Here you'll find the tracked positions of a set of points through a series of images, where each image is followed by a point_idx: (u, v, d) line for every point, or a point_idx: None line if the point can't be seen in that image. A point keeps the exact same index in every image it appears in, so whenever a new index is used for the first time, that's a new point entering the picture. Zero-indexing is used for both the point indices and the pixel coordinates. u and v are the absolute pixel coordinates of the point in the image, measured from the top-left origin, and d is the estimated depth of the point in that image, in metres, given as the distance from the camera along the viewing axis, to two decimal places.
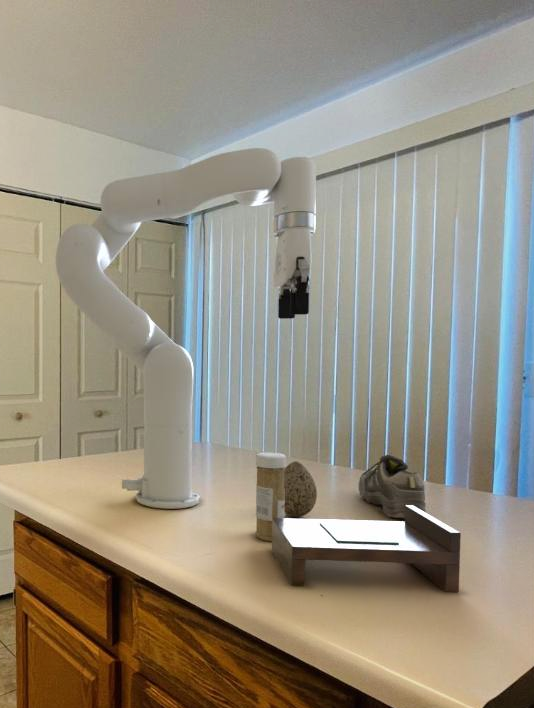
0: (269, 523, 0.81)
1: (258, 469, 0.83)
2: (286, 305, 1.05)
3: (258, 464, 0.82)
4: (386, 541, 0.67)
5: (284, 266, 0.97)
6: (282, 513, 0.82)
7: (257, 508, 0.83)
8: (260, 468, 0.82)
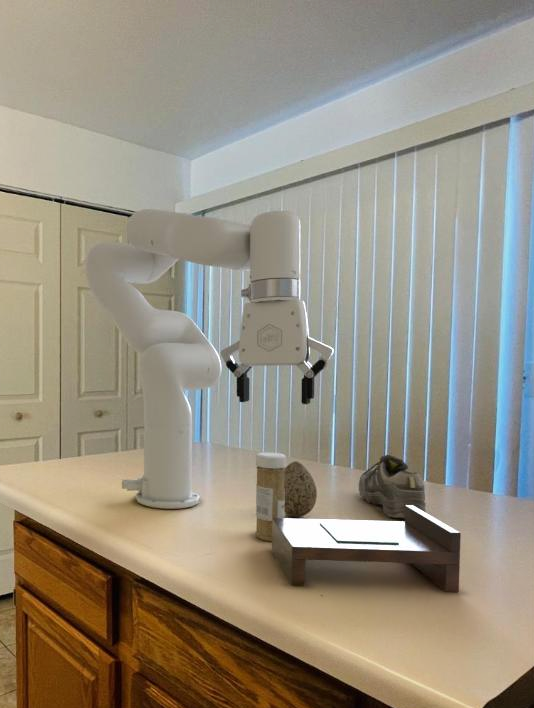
0: (269, 523, 0.81)
1: (258, 469, 0.83)
2: (246, 386, 0.85)
3: (258, 464, 0.82)
4: (386, 541, 0.67)
5: (297, 345, 0.78)
6: (282, 513, 0.82)
7: (257, 508, 0.83)
8: (260, 468, 0.82)
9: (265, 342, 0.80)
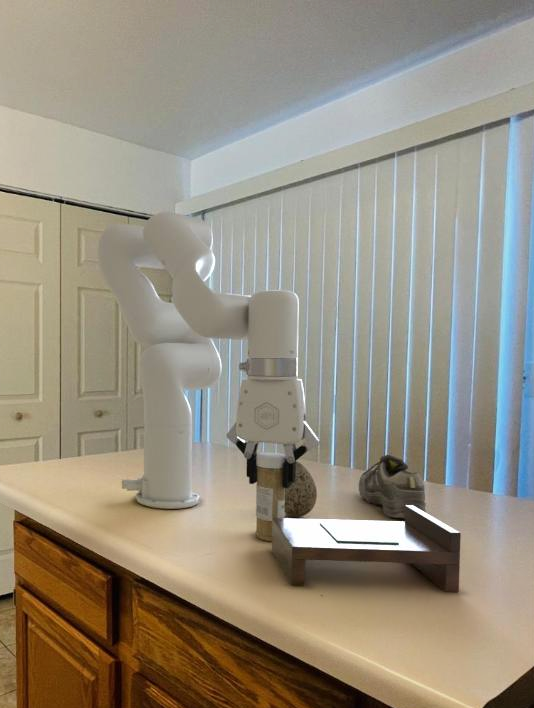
0: (269, 523, 0.81)
1: (258, 469, 0.83)
2: (256, 467, 0.84)
3: (258, 464, 0.82)
4: (386, 541, 0.67)
5: (294, 425, 0.78)
6: (282, 513, 0.82)
7: (257, 508, 0.83)
8: (260, 468, 0.82)
9: (262, 419, 0.81)
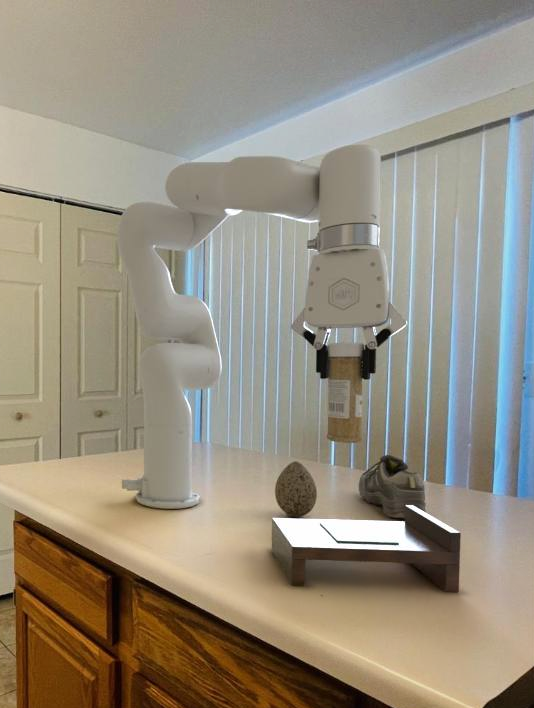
0: (345, 422, 0.70)
1: (331, 360, 0.71)
2: (327, 360, 0.72)
3: (332, 354, 0.71)
4: (386, 541, 0.67)
5: (378, 301, 0.67)
6: (360, 410, 0.70)
7: (330, 406, 0.71)
8: (334, 358, 0.70)
9: (338, 299, 0.69)
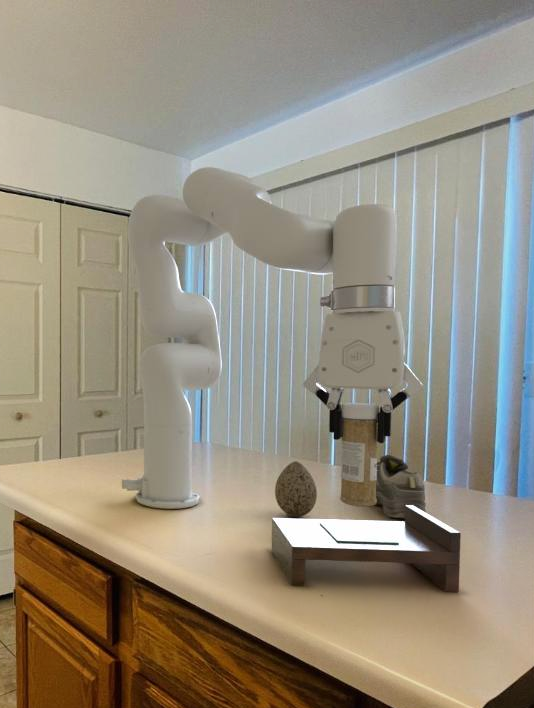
0: (359, 485, 0.68)
1: (345, 421, 0.69)
2: (341, 420, 0.71)
3: (346, 415, 0.69)
4: (386, 541, 0.67)
5: (394, 365, 0.65)
6: (375, 473, 0.68)
7: (343, 468, 0.70)
8: (348, 420, 0.69)
9: (352, 361, 0.67)
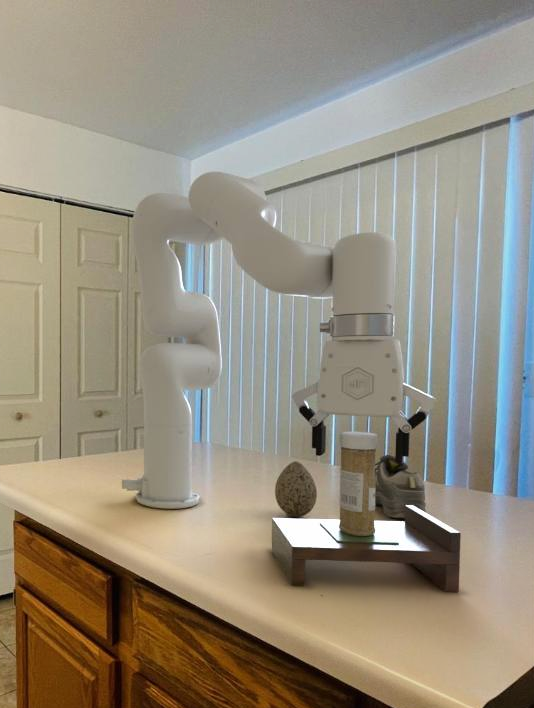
0: (358, 515, 0.69)
1: (344, 451, 0.70)
2: (323, 436, 0.72)
3: (344, 445, 0.69)
4: (386, 541, 0.67)
5: (393, 394, 0.65)
6: (373, 503, 0.69)
7: (342, 497, 0.70)
8: (347, 449, 0.69)
9: (351, 388, 0.68)
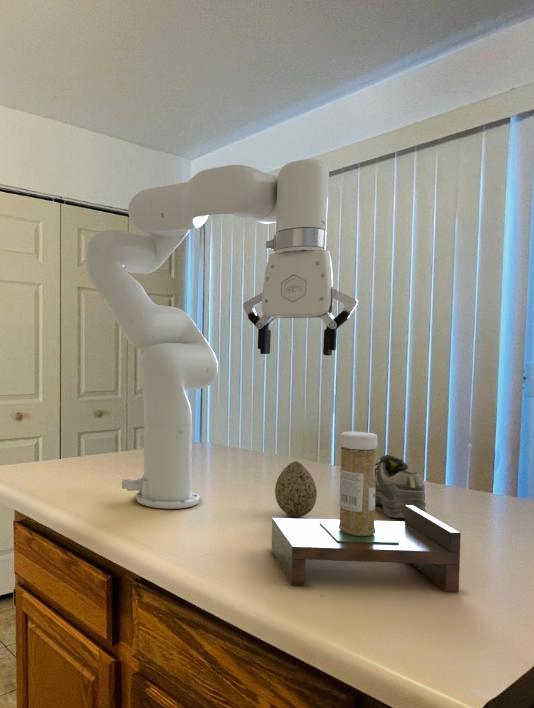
0: (358, 515, 0.69)
1: (344, 451, 0.70)
2: (267, 338, 0.85)
3: (344, 445, 0.69)
4: (386, 541, 0.67)
5: (321, 295, 0.78)
6: (373, 503, 0.69)
7: (342, 497, 0.70)
8: (347, 449, 0.69)
9: (289, 293, 0.80)
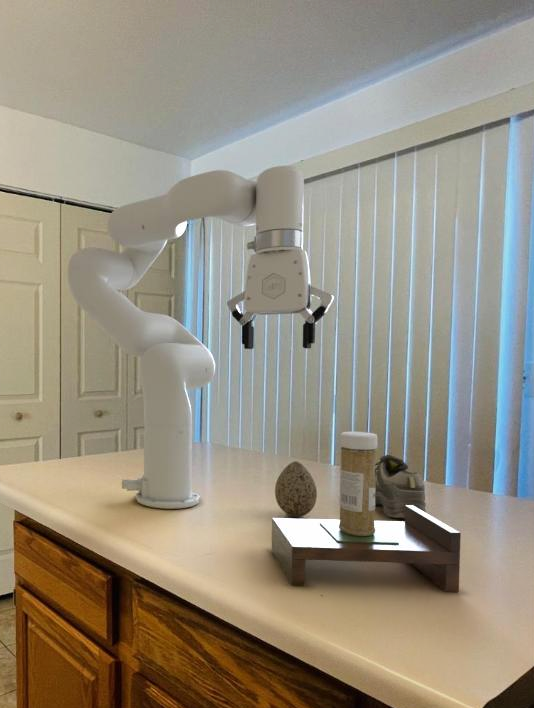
0: (358, 515, 0.69)
1: (344, 451, 0.70)
2: (251, 333, 0.90)
3: (344, 445, 0.69)
4: (386, 541, 0.67)
5: (300, 292, 0.83)
6: (373, 503, 0.69)
7: (342, 497, 0.70)
8: (347, 449, 0.69)
9: (269, 290, 0.85)
